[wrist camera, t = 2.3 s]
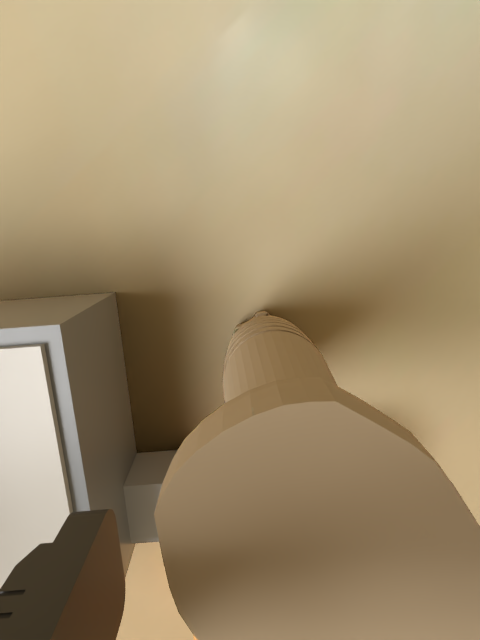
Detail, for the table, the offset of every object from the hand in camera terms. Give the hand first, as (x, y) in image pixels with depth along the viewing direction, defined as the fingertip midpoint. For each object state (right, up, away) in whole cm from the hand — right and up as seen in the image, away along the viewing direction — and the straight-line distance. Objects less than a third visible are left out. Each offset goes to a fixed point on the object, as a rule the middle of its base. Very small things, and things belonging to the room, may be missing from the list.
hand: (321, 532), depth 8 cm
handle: (0, +3, +13) cm, 14 cm away
